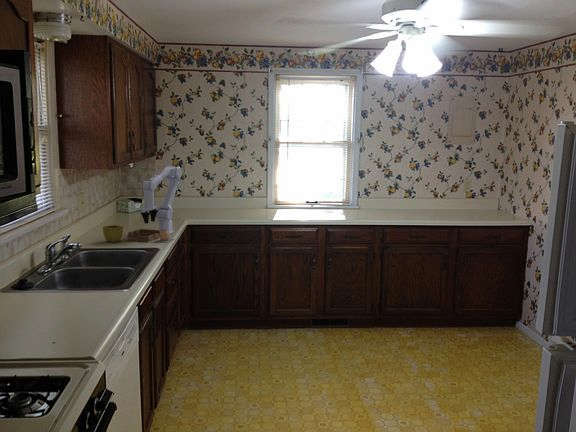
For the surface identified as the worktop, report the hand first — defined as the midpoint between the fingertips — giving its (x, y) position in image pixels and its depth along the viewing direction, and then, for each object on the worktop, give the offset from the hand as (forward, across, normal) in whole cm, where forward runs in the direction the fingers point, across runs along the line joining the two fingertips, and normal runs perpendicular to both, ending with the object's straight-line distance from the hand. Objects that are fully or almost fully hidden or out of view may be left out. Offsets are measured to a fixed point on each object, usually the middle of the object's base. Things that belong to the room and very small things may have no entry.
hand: (149, 222), depth 349 cm
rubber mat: (+9, +5, +13) cm, 17 cm away
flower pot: (+10, +18, -14) cm, 25 cm away
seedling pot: (+9, +5, +13) cm, 17 cm away
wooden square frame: (+9, +5, -1) cm, 11 cm away
